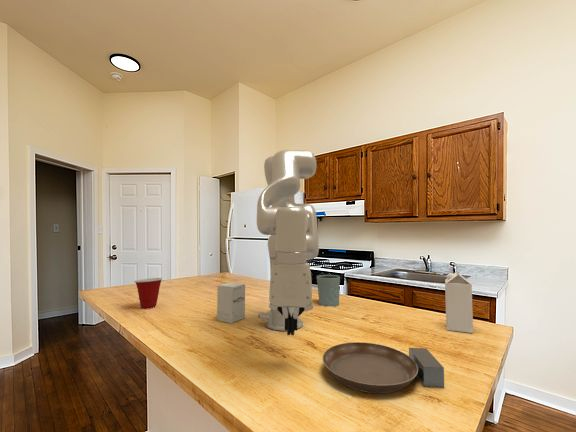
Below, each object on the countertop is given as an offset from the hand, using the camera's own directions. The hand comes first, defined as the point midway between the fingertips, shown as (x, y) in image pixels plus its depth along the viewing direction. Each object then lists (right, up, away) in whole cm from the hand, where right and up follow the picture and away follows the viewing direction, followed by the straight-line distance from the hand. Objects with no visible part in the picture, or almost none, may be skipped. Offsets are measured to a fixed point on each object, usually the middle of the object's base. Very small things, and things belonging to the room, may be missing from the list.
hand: (291, 332), depth 73 cm
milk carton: (+55, -8, +24) cm, 61 cm away
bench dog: (+30, -7, -6) cm, 31 cm away
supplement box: (-21, -9, +36) cm, 43 cm away
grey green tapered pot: (+17, -10, +57) cm, 60 cm away
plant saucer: (+17, -8, -5) cm, 20 cm away
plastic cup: (-60, -10, +53) cm, 81 cm away
